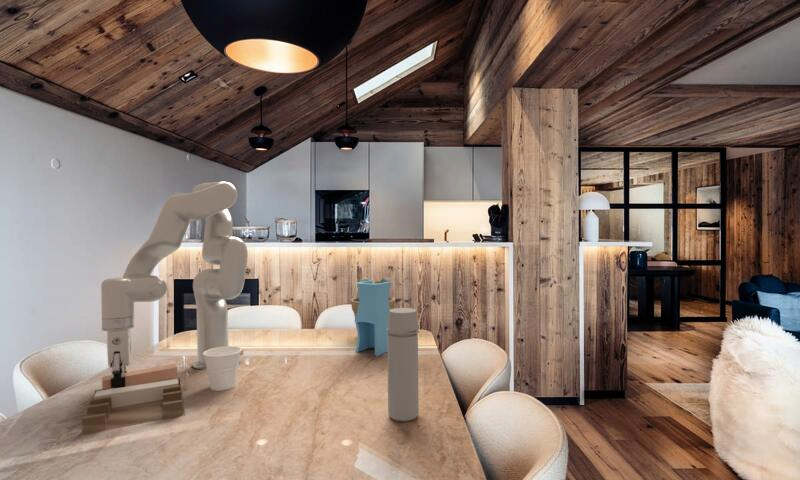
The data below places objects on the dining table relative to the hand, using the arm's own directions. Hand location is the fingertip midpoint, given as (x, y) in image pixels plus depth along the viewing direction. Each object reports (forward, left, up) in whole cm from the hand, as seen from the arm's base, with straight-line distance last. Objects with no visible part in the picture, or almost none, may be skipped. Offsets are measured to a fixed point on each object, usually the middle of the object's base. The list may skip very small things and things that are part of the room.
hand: (119, 388), depth 119 cm
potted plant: (-87, -22, -1) cm, 90 cm away
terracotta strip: (-5, -1, -1) cm, 5 cm away
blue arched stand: (-78, -2, -1) cm, 78 cm away
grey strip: (-5, +13, 0) cm, 14 cm away
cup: (-25, +13, -1) cm, 28 cm away
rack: (-5, +19, -1) cm, 20 cm away
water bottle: (-61, +52, -1) cm, 80 cm away
